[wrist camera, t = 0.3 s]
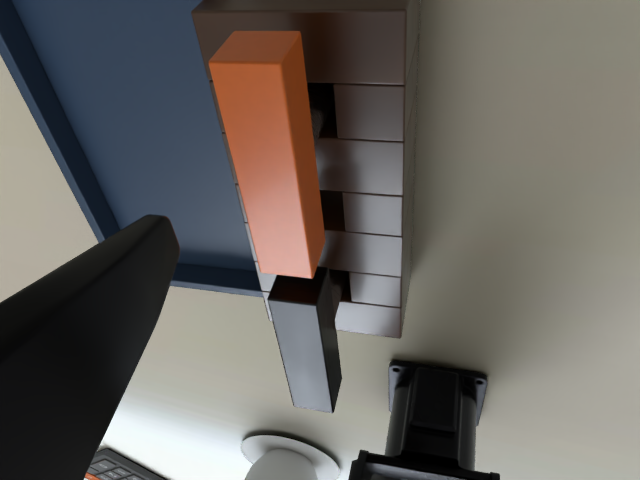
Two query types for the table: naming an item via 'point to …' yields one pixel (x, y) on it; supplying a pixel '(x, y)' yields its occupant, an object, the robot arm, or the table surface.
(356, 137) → the rack
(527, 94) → the table surface
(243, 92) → the t handle
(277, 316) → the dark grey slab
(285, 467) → the teacup
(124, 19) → the tray
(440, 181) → the table surface
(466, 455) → the robot arm
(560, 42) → the table surface
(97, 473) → the calculator
